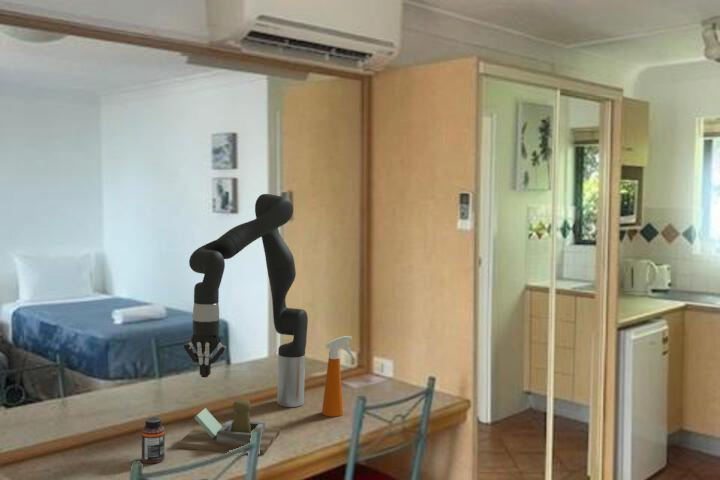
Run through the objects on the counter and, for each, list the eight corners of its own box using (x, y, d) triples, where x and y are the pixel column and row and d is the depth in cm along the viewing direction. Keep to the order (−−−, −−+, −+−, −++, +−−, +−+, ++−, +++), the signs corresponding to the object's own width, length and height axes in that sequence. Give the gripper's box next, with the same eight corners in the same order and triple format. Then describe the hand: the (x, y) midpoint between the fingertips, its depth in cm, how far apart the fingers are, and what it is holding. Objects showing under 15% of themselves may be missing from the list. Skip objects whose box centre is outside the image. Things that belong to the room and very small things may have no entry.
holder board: (201, 427, 218) (201, 412, 218) (279, 433, 215) (280, 418, 215) (178, 447, 201) (178, 432, 200) (263, 455, 197) (263, 439, 197)
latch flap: (202, 410, 211) (205, 407, 211) (221, 431, 211) (224, 429, 210) (194, 417, 204) (196, 415, 204) (213, 439, 204) (216, 437, 204)
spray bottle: (354, 417, 233) (357, 338, 231) (322, 416, 232) (324, 337, 230) (353, 410, 240) (355, 333, 238) (321, 410, 239) (323, 333, 237)
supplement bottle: (144, 455, 194) (144, 415, 193) (166, 455, 194) (166, 415, 194) (139, 464, 188) (139, 422, 187) (162, 464, 188) (162, 422, 188)
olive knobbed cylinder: (247, 441, 203) (248, 404, 202) (227, 439, 204) (228, 402, 203) (254, 434, 209) (255, 398, 208) (235, 432, 210) (236, 396, 209)
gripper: (232, 317, 208) (230, 375, 209) (189, 314, 210) (188, 372, 211) (223, 321, 201) (222, 381, 202) (179, 319, 203) (178, 378, 204)
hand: (204, 376), depth 207 cm, fingers closed
